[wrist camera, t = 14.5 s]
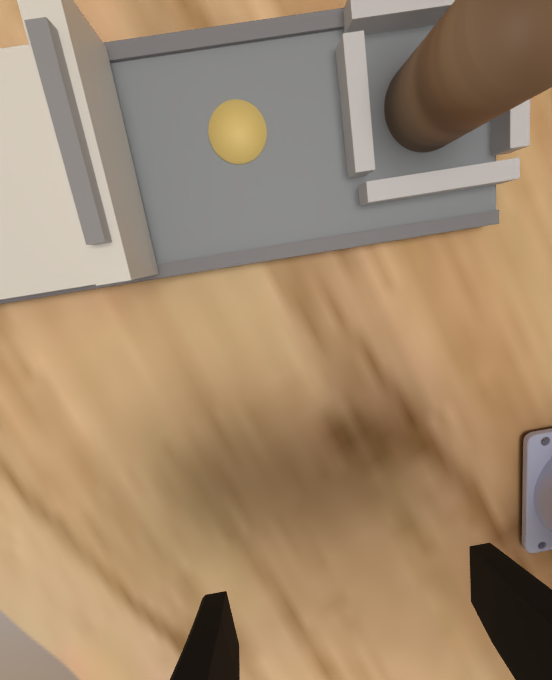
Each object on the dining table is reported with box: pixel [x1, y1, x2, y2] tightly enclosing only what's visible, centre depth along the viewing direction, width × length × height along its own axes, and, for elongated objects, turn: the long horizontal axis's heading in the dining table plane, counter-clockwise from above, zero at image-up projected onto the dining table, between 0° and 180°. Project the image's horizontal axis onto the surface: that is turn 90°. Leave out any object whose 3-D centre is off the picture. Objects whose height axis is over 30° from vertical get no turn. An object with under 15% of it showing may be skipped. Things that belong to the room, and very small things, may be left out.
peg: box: [384, 0, 552, 153], centre depth 12 cm, size 4×4×6 cm
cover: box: [0, 0, 159, 300], centre depth 13 cm, size 8×9×4 cm
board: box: [0, 0, 530, 304], centre depth 15 cm, size 27×9×2 cm, turn 99°
